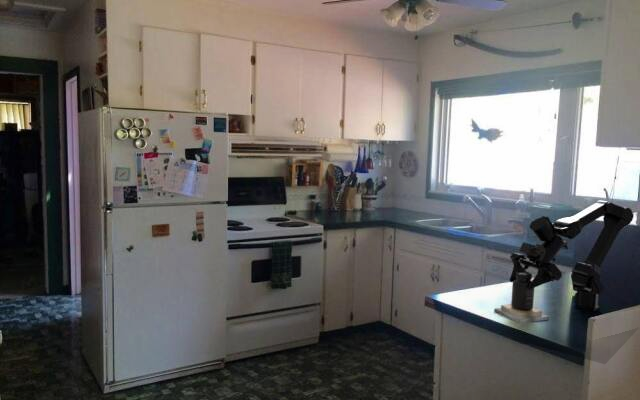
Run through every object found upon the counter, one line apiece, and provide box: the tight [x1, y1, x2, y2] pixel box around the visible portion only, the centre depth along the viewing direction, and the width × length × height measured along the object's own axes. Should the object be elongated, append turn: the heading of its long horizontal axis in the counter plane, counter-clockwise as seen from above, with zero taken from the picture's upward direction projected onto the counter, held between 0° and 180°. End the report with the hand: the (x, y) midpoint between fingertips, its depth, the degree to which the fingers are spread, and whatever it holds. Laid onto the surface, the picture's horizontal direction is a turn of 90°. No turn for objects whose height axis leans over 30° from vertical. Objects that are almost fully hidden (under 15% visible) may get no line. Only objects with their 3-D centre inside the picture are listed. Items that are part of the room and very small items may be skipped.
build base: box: [493, 303, 550, 324], centre depth 172 cm, size 12×12×2 cm
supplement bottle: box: [510, 270, 535, 311], centre depth 171 cm, size 7×7×12 cm
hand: (519, 284), depth 170 cm, fingers open, 8 cm apart
